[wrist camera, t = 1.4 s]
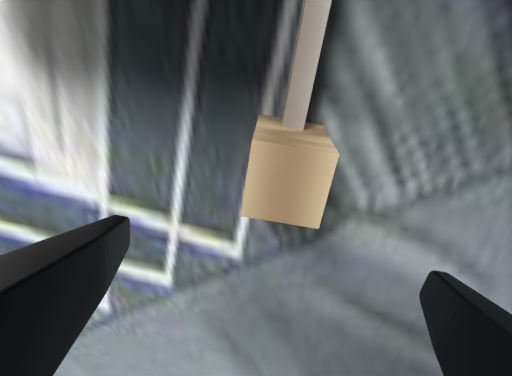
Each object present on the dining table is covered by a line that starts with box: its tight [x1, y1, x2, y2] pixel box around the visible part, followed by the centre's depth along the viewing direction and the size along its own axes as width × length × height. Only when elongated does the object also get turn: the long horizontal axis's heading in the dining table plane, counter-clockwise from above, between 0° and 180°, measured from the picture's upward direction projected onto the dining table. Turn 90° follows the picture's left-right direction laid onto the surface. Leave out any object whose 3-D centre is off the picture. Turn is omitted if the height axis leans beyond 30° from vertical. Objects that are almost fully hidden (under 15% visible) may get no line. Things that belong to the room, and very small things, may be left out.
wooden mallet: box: [241, 0, 339, 229], centre depth 16 cm, size 4×15×6 cm, turn 171°
